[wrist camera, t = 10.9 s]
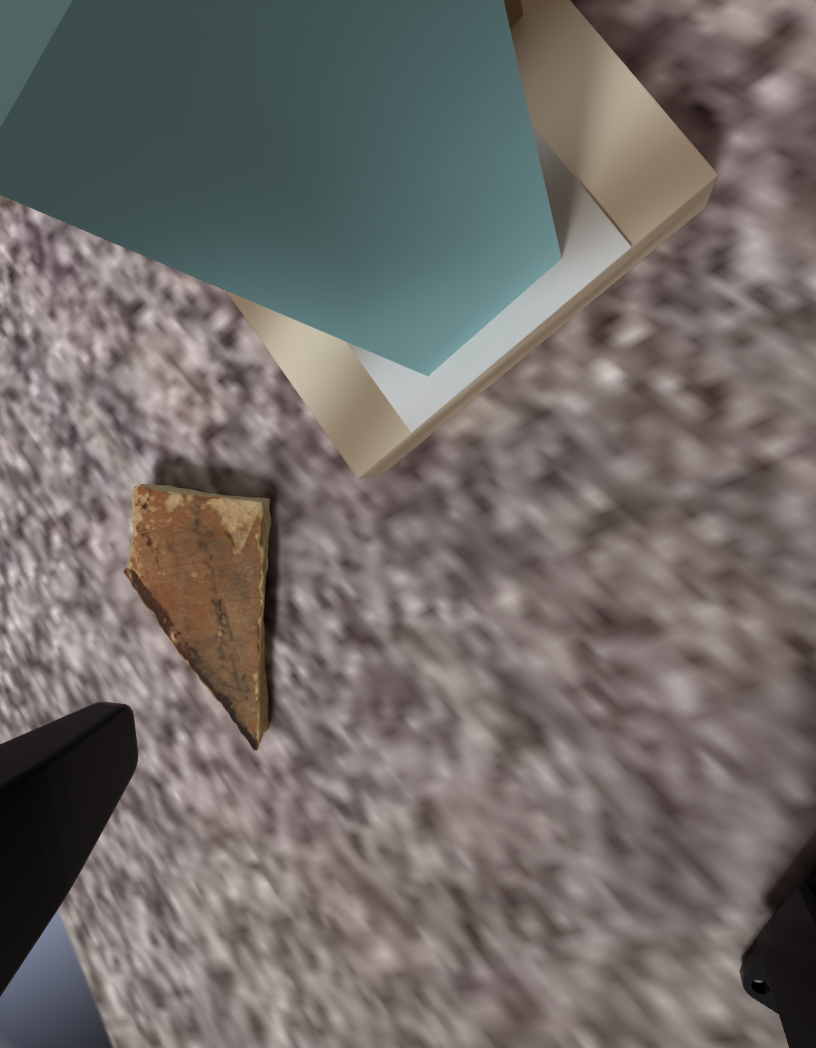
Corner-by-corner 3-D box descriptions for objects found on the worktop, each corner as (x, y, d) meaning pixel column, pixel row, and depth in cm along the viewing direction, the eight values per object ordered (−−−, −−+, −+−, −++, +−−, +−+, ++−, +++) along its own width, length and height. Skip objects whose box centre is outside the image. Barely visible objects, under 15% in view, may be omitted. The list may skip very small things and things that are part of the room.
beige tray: (704, 208, 15) (736, 131, 12) (381, 476, 20) (329, 481, 16) (289, -288, 18) (204, -486, 14) (83, 55, 22) (-21, -25, 19)
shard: (276, 735, 24) (252, 756, 22) (146, 695, 27) (115, 711, 25) (286, 497, 22) (260, 500, 21) (146, 478, 25) (112, 480, 23)
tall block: (561, 259, 15) (382, -547, 3) (427, 376, 17) (-31, 181, 5) (458, 128, 16) (-60, -1019, 3) (339, 255, 17) (-281, -201, 5)
